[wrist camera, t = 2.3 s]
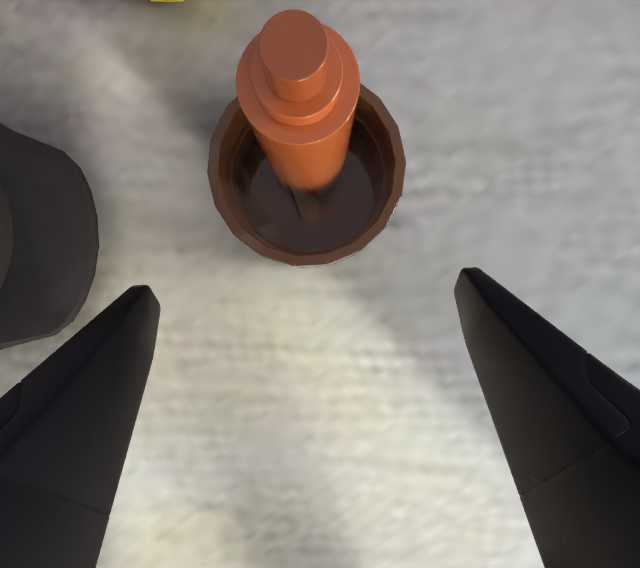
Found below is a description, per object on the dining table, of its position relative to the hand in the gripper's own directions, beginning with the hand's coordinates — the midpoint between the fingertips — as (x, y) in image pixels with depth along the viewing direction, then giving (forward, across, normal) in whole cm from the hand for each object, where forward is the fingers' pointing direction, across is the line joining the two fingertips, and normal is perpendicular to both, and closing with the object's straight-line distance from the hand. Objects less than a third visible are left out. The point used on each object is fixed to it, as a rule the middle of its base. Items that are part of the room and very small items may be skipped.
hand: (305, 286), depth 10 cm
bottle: (+15, 0, +4) cm, 15 cm away
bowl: (+14, 0, +5) cm, 15 cm away
